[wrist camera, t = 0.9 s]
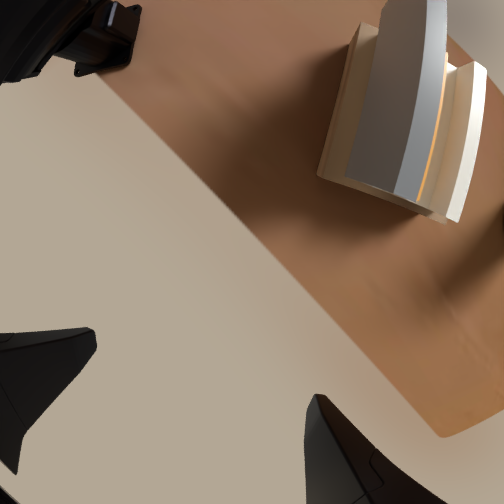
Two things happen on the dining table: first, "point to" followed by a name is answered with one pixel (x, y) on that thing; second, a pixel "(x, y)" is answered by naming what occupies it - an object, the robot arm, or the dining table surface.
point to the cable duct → (454, 140)
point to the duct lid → (401, 98)
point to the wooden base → (356, 121)
